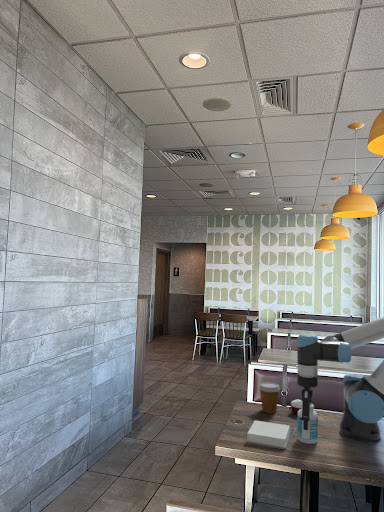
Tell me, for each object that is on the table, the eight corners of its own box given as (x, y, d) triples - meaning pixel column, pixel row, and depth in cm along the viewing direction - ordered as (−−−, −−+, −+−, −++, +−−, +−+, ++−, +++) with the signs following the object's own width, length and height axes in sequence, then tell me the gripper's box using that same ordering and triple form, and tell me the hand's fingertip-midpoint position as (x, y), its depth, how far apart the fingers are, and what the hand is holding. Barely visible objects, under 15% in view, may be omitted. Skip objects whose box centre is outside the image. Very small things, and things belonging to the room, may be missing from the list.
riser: (290, 434, 150) (290, 425, 150) (285, 449, 136) (285, 439, 137) (254, 428, 155) (254, 420, 155) (246, 442, 141) (246, 433, 142)
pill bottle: (310, 446, 139) (310, 409, 140) (293, 440, 145) (293, 404, 146) (321, 441, 144) (321, 405, 145) (304, 434, 150) (304, 400, 150)
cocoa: (290, 416, 171) (289, 389, 171) (287, 411, 177) (286, 385, 177) (311, 416, 170) (310, 389, 170) (307, 410, 176) (306, 385, 177)
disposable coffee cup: (280, 415, 171) (280, 388, 171) (258, 413, 173) (258, 386, 173) (279, 408, 180) (279, 382, 181) (259, 406, 182) (259, 381, 183)
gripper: (300, 367, 159) (300, 418, 158) (294, 381, 136) (293, 442, 134) (319, 369, 156) (318, 421, 155) (315, 384, 133) (315, 446, 132)
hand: (307, 431), depth 145 cm, fingers open, 13 cm apart
